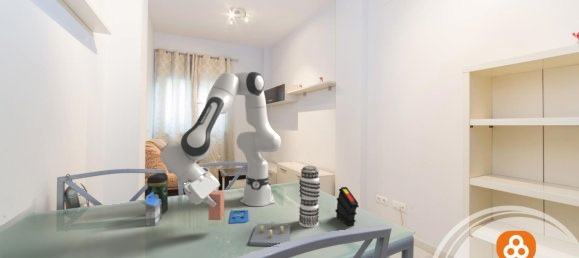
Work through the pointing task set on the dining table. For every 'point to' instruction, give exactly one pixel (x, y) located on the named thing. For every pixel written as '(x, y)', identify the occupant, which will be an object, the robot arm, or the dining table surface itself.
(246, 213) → the handheld gaming device
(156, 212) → the label tape box
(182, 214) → the dining table surface
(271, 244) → the plate
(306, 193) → the decorative candle
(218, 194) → the salmon pink block
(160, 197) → the coffee jar
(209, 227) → the dining table surface
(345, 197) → the black ribbed casing
